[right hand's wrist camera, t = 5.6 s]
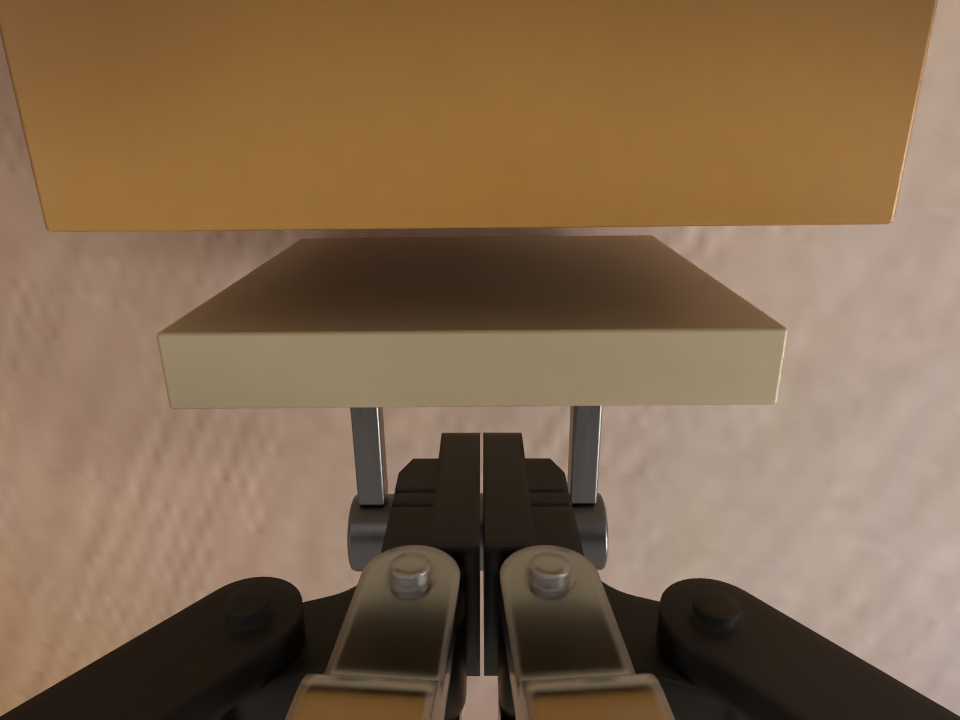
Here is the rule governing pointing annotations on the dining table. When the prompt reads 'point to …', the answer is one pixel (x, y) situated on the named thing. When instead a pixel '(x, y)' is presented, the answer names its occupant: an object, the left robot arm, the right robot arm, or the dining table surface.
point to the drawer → (473, 344)
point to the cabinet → (465, 112)
